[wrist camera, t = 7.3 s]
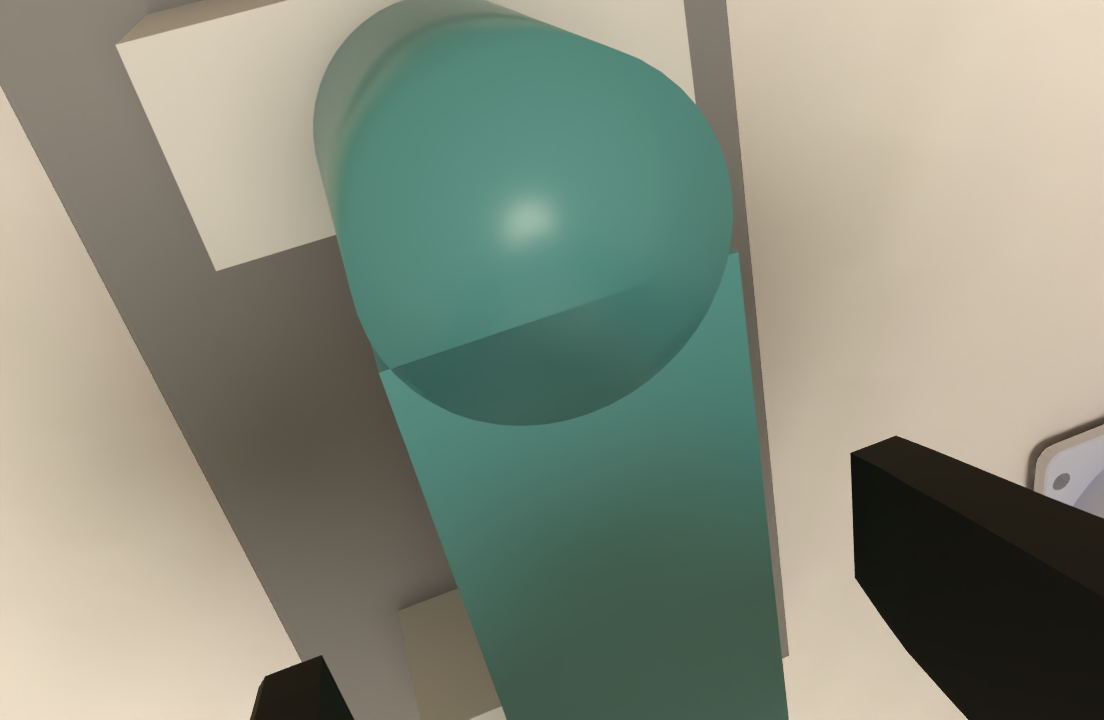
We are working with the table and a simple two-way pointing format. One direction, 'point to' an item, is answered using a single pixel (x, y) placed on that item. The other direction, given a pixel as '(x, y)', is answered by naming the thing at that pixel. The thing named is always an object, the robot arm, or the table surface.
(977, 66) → the table surface
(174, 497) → the table surface
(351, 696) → the display stand
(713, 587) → the teal dome-capped pillar
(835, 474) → the table surface
